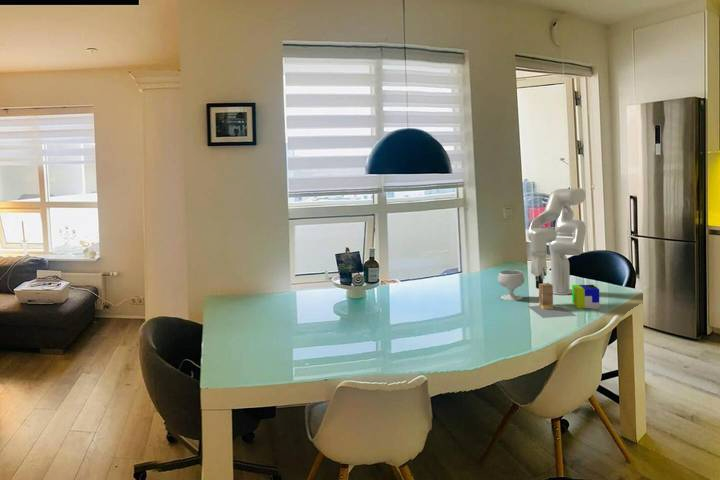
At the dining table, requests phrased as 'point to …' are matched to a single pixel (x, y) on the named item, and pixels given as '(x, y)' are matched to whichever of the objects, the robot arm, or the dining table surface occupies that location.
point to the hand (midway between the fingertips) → (539, 288)
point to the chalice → (511, 283)
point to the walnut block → (546, 296)
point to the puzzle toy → (585, 296)
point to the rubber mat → (552, 311)
